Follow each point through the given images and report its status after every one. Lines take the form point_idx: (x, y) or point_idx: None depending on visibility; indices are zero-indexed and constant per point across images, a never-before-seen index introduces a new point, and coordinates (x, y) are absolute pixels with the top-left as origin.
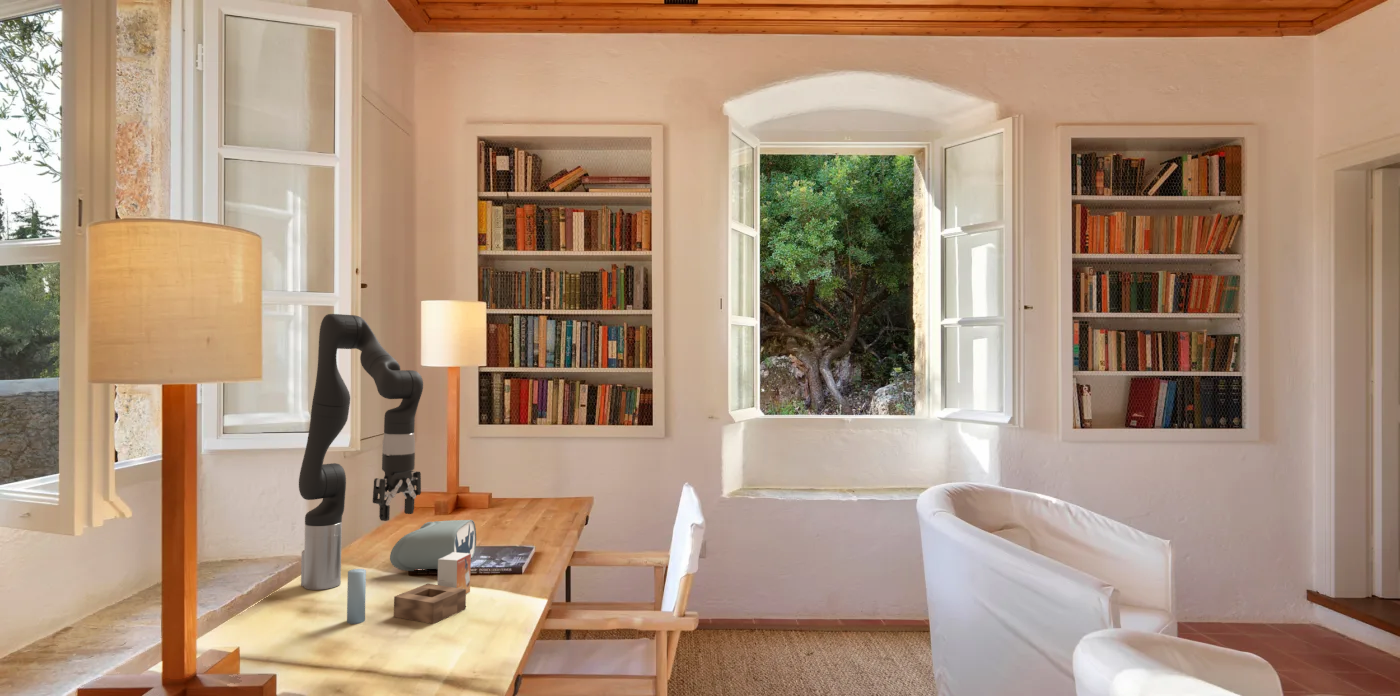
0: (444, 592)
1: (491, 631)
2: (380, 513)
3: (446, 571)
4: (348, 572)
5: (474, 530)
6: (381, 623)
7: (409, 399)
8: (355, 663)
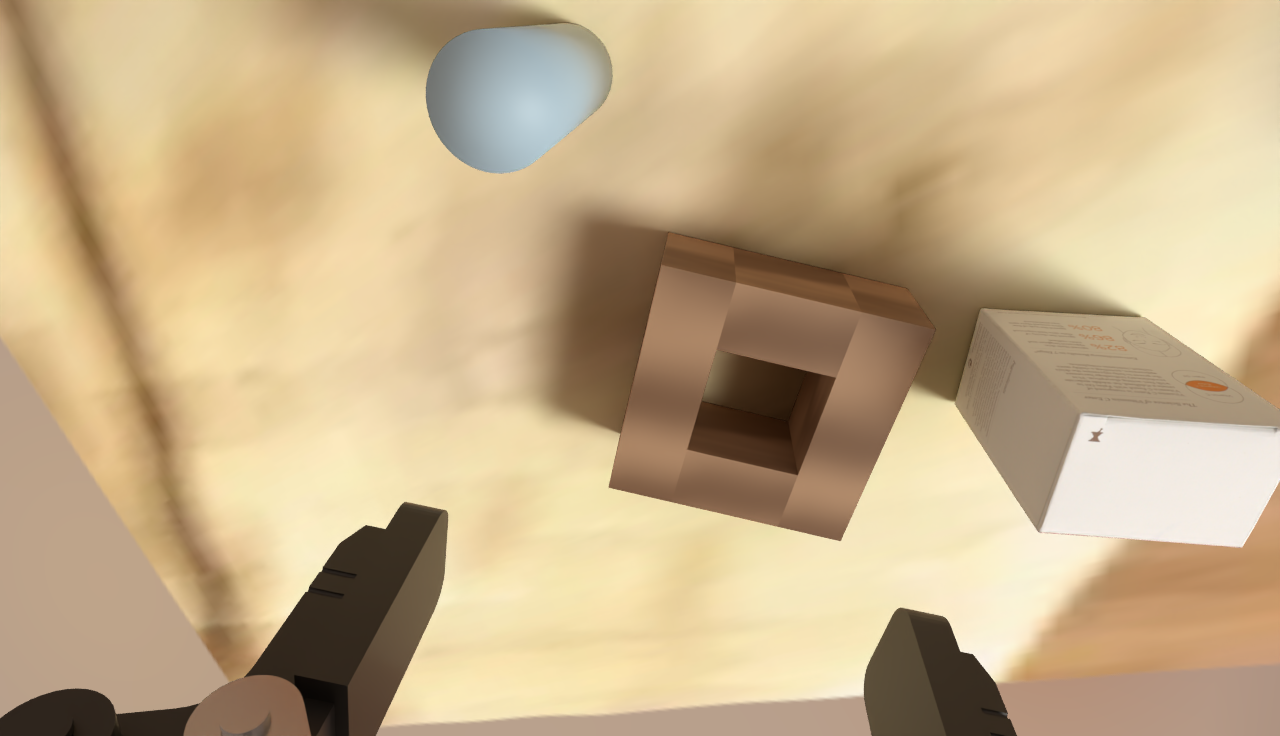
0: (775, 472)
1: (598, 629)
2: (317, 591)
3: (1024, 430)
4: (436, 58)
5: None
6: (572, 221)
7: None
8: (178, 353)
